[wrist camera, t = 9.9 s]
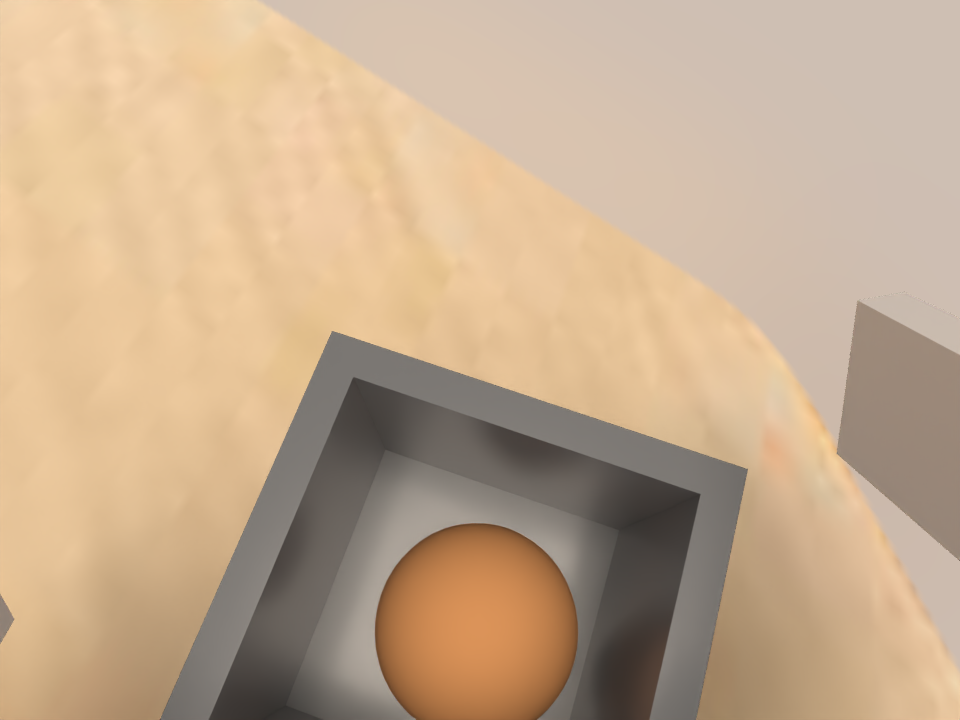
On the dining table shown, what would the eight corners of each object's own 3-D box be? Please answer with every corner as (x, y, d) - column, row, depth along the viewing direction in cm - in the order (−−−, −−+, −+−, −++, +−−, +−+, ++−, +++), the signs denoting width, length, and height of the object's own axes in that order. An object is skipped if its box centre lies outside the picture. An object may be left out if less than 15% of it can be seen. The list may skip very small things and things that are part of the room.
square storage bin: (253, 721, 19) (125, 797, 12) (373, 423, 22) (332, 331, 15) (563, 839, 19) (637, 998, 11) (645, 516, 22) (747, 469, 14)
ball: (338, 685, 18) (347, 721, 14) (405, 505, 20) (432, 483, 16) (512, 744, 19) (576, 797, 14) (561, 563, 21) (634, 558, 16)
